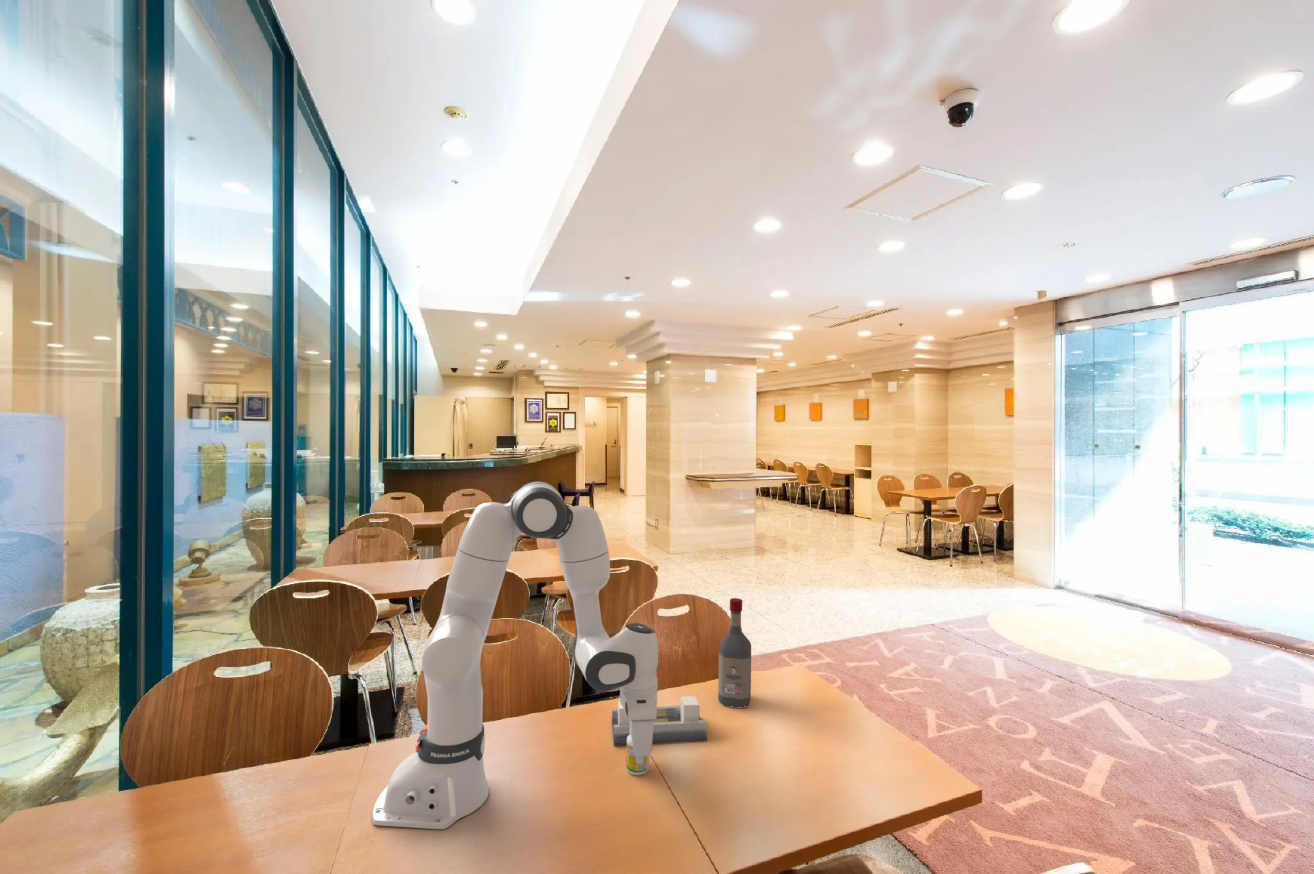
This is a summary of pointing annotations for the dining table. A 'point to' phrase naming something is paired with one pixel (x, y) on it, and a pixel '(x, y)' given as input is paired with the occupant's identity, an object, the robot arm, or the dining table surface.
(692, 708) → the rail posts
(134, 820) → the dining table surface
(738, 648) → the liquor
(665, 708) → the rail
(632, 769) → the supplement bottle
